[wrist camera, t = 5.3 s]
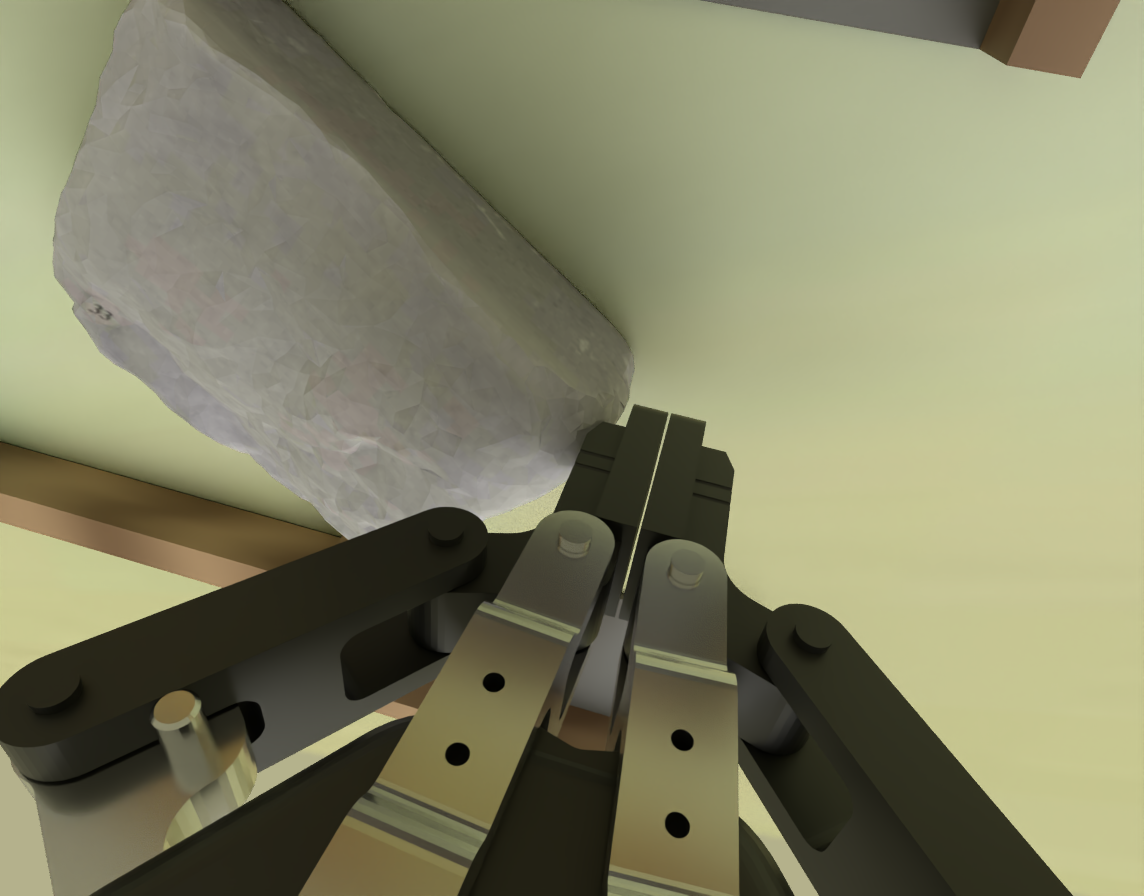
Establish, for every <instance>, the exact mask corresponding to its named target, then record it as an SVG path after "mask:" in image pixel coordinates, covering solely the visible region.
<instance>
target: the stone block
mask: <svg viewBox="0 0 1144 896" xmlns="http://www.w3.org/2000/svg"><path fill="white" fill-rule="evenodd" d="M53 247H54V252H53V268H54V276H55V278H56V279H57V281H58V282H59V283H60V285H61V286H62V287H63V288H64V290H65V291H66V292H67V294H68V295H69V296H70V298H71V299H72V300H73V301H74V305H73V308H72V310H73V312H74V315H75V316H76V317H77V319H78V320H79V321H80V323H81V324H82V325H83V326H84V328H85V329H86V331H87V332H88V334H89V335H90V337H91V339H92V340H93V342H94V343H95V345H96V347H97V348H98V350H99V351H100V353H102V354H103V355H104V356H105V357H107V358H108V359H109V360H110V361H111V362H113V363H114V364H115V365H117V366H119V367H121V368H122V369H124V370H126V371H128V372H129V373H131V374H133V375H135V376H136V377H138V378H139V379H140V380H141V381H142V382H143V383H145V384H146V385H147V386H148V387H149V388H150V389H152V390H153V391H154V392H155V393H156V394H157V395H158V397H159V398H160V399H161V400H162V402H163V403H164V404H165V405H166V406H167V407H168V408H169V409H171V410H172V411H173V412H175V413H176V414H177V415H179V416H180V417H181V418H183V419H184V420H185V421H186V422H188V423H189V424H190V425H191V426H193V427H194V428H195V429H196V430H198V431H200V432H201V433H203V434H205V435H206V436H208V437H210V438H211V439H213V440H214V441H216V442H218V443H220V444H222V445H225V446H227V447H229V448H231V449H234V450H236V451H239V452H242V453H247V454H250V456H251V457H252V458H253V459H254V460H255V461H256V462H257V463H258V464H259V465H260V466H262V467H263V468H264V469H265V470H266V471H267V472H268V473H269V474H270V475H271V476H272V477H273V478H274V479H275V480H277V481H278V482H279V483H281V484H282V485H284V486H285V487H286V488H288V489H289V490H290V491H292V492H293V493H295V494H296V495H297V496H299V497H300V498H302V499H304V500H306V501H309V502H310V503H311V504H312V505H313V506H314V507H315V508H316V509H317V511H318V512H319V513H320V514H321V516H322V517H323V518H324V520H325V521H326V522H328V523H329V524H330V525H331V526H332V527H333V528H335V529H336V530H337V531H338V532H339V533H341V534H342V535H343V536H344V537H345V538H347V539H348V540H350V539H352V538H355V537H357V536H360V535H363V534H365V533H368V532H371V531H373V530H376V529H378V528H381V527H384V526H386V525H389V524H391V523H394V522H397V521H399V520H402V519H405V518H407V517H410V516H412V515H415V514H418V513H420V512H423V511H426V510H429V509H432V508H437V507H456V508H461V509H464V510H467V511H469V512H471V513H473V514H475V515H476V516H478V517H479V518H480V519H481V520H482V521H484V520H485V519H487V518H490V517H494V516H497V515H500V514H503V513H506V512H508V511H511V510H513V509H515V508H517V507H519V506H521V505H524V504H526V503H528V502H531V501H533V500H536V499H538V498H539V497H541V496H543V495H545V494H547V493H548V492H550V491H551V490H553V489H554V488H556V487H557V486H559V485H561V484H562V483H564V482H565V481H566V480H567V479H568V477H569V475H570V473H571V470H572V468H573V466H574V464H575V461H576V458H577V456H578V454H579V452H580V449H581V447H582V444H583V442H584V440H585V437H586V435H587V433H588V432H589V431H591V430H592V429H593V428H595V427H596V426H598V425H599V424H600V423H602V422H607V423H611V424H616V422H617V421H618V420H619V418H620V417H621V415H622V413H623V411H624V409H625V407H626V404H627V402H628V400H629V393H630V385H631V381H632V377H633V373H634V358H633V353H632V352H631V350H630V348H629V346H628V344H627V343H626V341H625V339H624V338H623V337H622V336H621V334H620V333H619V332H618V331H617V330H616V328H615V327H614V326H613V325H612V324H611V323H610V322H609V321H608V320H607V319H606V318H605V317H604V316H603V315H602V314H601V313H600V312H599V311H598V310H597V309H596V308H595V307H594V306H593V305H592V304H591V303H590V302H589V301H588V300H587V299H586V298H585V297H584V296H583V295H582V294H580V292H579V291H578V290H577V289H576V288H575V287H574V286H573V285H572V284H571V283H570V282H569V281H568V280H567V279H566V278H565V277H564V276H563V275H562V274H561V273H560V272H558V271H557V270H556V269H555V268H554V267H553V266H552V265H551V264H550V263H549V262H548V261H547V260H546V259H545V258H544V257H543V256H542V255H541V254H540V253H539V252H538V251H536V250H535V249H534V248H533V247H532V246H531V245H530V244H529V243H528V242H527V241H526V240H525V239H524V238H523V237H522V236H521V234H520V233H519V232H518V231H517V230H516V229H515V228H514V227H513V226H512V225H511V224H510V223H509V222H507V221H506V220H505V219H504V218H503V217H502V216H501V215H500V214H499V213H498V212H497V211H495V210H494V209H493V208H492V207H491V206H490V205H489V204H488V203H487V202H486V201H485V199H484V198H483V197H482V196H481V195H480V194H479V193H478V192H477V191H476V190H475V189H474V188H473V187H472V186H470V185H469V184H468V183H467V182H466V181H465V180H464V179H463V178H462V177H461V176H460V175H459V174H458V173H457V172H456V171H455V170H454V169H453V168H452V167H451V166H450V165H449V164H448V163H447V162H446V161H445V160H444V159H443V158H442V156H441V155H440V154H439V153H438V152H437V151H436V150H435V149H434V148H432V147H431V146H430V145H429V144H428V143H427V142H426V141H425V140H424V139H423V138H422V137H421V136H420V135H418V134H417V133H416V132H415V131H414V130H413V129H412V128H411V127H410V126H409V125H408V124H407V123H405V122H404V121H403V120H402V119H401V118H400V117H399V116H398V115H396V114H395V113H394V112H392V111H391V110H390V108H389V107H388V106H387V105H386V103H385V102H384V101H383V100H382V98H381V97H380V96H379V95H378V93H377V92H376V91H375V90H374V89H373V88H372V87H371V86H370V85H369V84H368V83H366V82H365V81H364V80H363V79H362V78H361V77H360V76H359V75H358V74H357V73H356V72H355V71H354V70H353V69H352V68H351V67H350V66H349V65H348V64H347V63H346V62H345V61H344V60H343V59H342V58H341V57H340V56H339V55H338V54H337V53H336V52H335V51H334V50H333V49H332V48H331V47H330V46H329V45H328V44H327V43H326V42H325V40H324V39H323V38H322V37H321V36H320V35H319V34H317V33H316V32H315V31H313V30H312V29H311V28H310V27H308V26H307V24H306V23H305V22H304V21H303V20H302V19H301V18H300V17H299V16H298V15H297V14H296V13H295V12H294V11H293V10H292V9H291V8H290V7H289V6H288V5H287V4H285V3H284V2H283V1H281V0H131V1H130V3H129V5H128V6H127V8H126V9H125V11H124V12H123V14H122V15H121V18H120V20H119V22H118V24H117V26H116V29H115V31H114V39H113V51H112V53H111V55H110V58H109V60H108V62H107V64H106V66H105V68H104V70H103V72H102V74H101V76H100V81H99V88H98V95H97V101H96V106H95V108H94V110H93V113H92V115H91V118H90V120H89V122H88V125H87V129H86V132H85V135H84V138H83V140H82V143H81V145H80V147H79V150H78V152H77V155H76V158H75V162H74V166H73V169H72V171H71V174H70V176H69V178H68V181H67V183H66V185H65V188H64V189H63V191H62V192H61V196H60V200H59V204H58V208H57V212H56V216H55V233H54V237H53Z"/></svg>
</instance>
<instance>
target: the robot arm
mask: <svg viewBox="0 0 1144 896" xmlns="http://www.w3.org/2000/svg"><path fill="white" fill-rule="evenodd" d="M667 416H668V412H664V411H660V410H656V409H652V408H648V407H644V406H640V405H636V404H634V406H633V408H632V411H631V414H630V417H629V420H628V422H627V425H626V427H623V426H619V425H615V424H611V423H607V422H602V423H600V424H599V425H598V426H596V427H595V428H593V429H592V430H591V431H589V432H588V433H587V435H586V437H585V440H584V442H583V444H582V447H581V449H580V452H579V454H578V456H577V458H576V461H575V464H574V466H573V468H572V470H571V473H570V475H569V477H568V480H567V482H566V484H565V487H564V489H563V492H562V494H561V496H560V499H559V501H558V503H557V506H556V508H555V510H554V513H553V514H550V515H548V516H547V517H545V518H544V519H543V520H541V521H540V523H539V524H538V525H537V527H536V528H535V529H533V530H530V531H526V532H521V533H487V529H486V526H485V524H484V523H483V522H482V520H481V519H480V518H479V517H478V516H476V515H475V514H473V513H471V512H469V511H467V510H464V509H461V508H456V507H437V508H432V509H429V510H426V511H423V512H420V513H418V514H415V515H412V516H410V517H407V518H405V519H402V520H399V521H397V522H394V523H391V524H389V525H386V526H384V527H381V528H378V529H376V530H373V531H371V532H368V533H365V534H363V535H360V536H357V537H355V538H352V539H350V540H347V541H344V542H342V543H339V544H336V545H334V546H331V547H329V548H326V549H323V550H321V551H318V552H316V553H313V554H310V555H308V556H305V557H302V558H300V559H297V560H295V561H292V562H289V563H287V564H284V565H281V566H279V567H276V568H274V569H271V570H268V571H266V572H263V573H261V574H258V575H255V576H253V577H250V578H247V579H245V580H242V581H240V582H237V583H234V584H232V585H229V586H226V587H224V588H221V589H219V590H216V591H213V592H211V593H208V594H206V595H203V596H200V597H198V598H195V599H192V600H190V601H187V602H185V603H182V604H179V605H177V606H174V607H171V608H169V609H166V610H164V611H161V612H158V613H156V614H153V615H151V616H148V617H145V618H143V619H140V620H137V621H135V622H132V623H130V624H127V625H124V626H122V627H119V628H116V629H114V630H111V631H109V632H106V633H103V634H101V635H98V636H96V637H93V638H90V639H88V640H85V641H82V642H80V643H77V644H75V645H72V646H69V647H67V648H64V649H61V650H59V651H56V652H54V653H51V654H48V655H46V656H44V657H41V658H39V659H37V660H35V661H33V662H31V663H30V664H28V665H26V666H25V667H23V668H22V669H20V670H19V671H17V672H16V673H15V674H14V675H13V676H12V677H10V678H9V679H8V680H7V681H6V682H5V683H4V684H3V685H2V687H1V688H0V745H1V746H2V748H3V749H4V751H5V752H6V753H7V755H8V756H9V757H10V760H11V765H12V767H13V770H14V772H15V773H16V774H17V776H18V777H19V778H20V780H21V781H22V783H23V784H24V785H25V787H26V788H27V789H28V791H29V792H30V794H31V795H32V797H33V798H34V800H35V801H36V804H37V809H38V815H39V820H40V825H41V830H42V836H43V841H44V846H45V851H46V857H47V862H48V867H49V873H50V878H51V883H52V888H53V894H54V896H794V894H793V892H792V890H791V889H790V887H789V885H788V883H787V881H786V879H785V878H784V876H783V874H782V872H781V871H780V869H779V867H778V865H777V864H776V862H775V860H774V858H773V857H772V855H771V854H770V852H769V851H768V850H767V848H766V847H765V845H764V844H763V842H762V841H761V840H760V838H759V837H758V836H757V835H756V834H755V833H754V832H753V830H752V829H751V828H750V827H749V826H748V825H747V824H746V823H745V822H744V821H743V820H742V819H741V818H740V817H739V811H738V764H739V765H740V767H741V769H742V770H743V772H744V774H745V775H746V777H747V779H748V780H749V782H750V783H751V785H752V787H753V788H754V790H755V792H756V793H757V795H758V796H759V798H760V800H761V801H762V803H763V805H764V806H765V808H766V810H767V811H768V813H769V814H770V816H771V818H772V819H773V821H774V823H775V824H776V826H777V828H778V829H779V831H780V832H781V834H782V836H783V837H784V839H785V841H786V842H787V844H788V846H789V847H790V849H791V850H792V852H793V854H794V855H795V857H796V858H797V860H798V862H799V863H800V865H801V867H802V868H803V870H804V872H805V873H806V875H807V877H808V878H809V880H810V881H811V883H812V885H813V886H814V888H815V890H816V891H817V893H818V895H819V896H1073V895H1072V894H1071V893H1070V892H1069V891H1068V889H1067V888H1066V887H1065V886H1064V885H1063V883H1062V882H1061V881H1060V880H1059V879H1058V878H1057V876H1056V875H1055V874H1054V873H1053V872H1052V871H1051V869H1050V868H1049V867H1048V866H1047V865H1046V863H1045V862H1044V861H1043V860H1042V859H1041V858H1040V856H1039V855H1038V854H1037V853H1036V852H1035V851H1034V849H1033V848H1032V847H1031V846H1030V845H1029V844H1028V842H1027V841H1026V840H1025V839H1024V838H1023V836H1022V835H1021V834H1020V833H1019V832H1018V831H1017V829H1016V828H1015V827H1014V826H1013V825H1012V824H1011V822H1010V821H1009V820H1008V819H1007V818H1006V817H1005V815H1004V814H1003V813H1002V812H1001V811H1000V809H999V808H998V807H997V806H996V805H995V804H994V802H993V801H992V800H991V799H990V798H989V797H988V795H987V794H986V793H985V792H984V791H983V789H982V788H981V787H980V786H979V785H978V784H977V782H976V781H975V780H974V779H973V778H972V777H971V775H970V774H969V773H968V772H967V771H966V770H965V768H964V767H963V766H962V765H961V764H960V762H959V761H958V760H957V759H956V758H955V757H954V755H953V754H952V753H951V752H950V751H949V750H948V748H947V747H946V746H945V745H944V744H943V743H942V741H941V740H940V739H939V738H938V737H937V735H936V734H935V733H934V732H933V731H932V730H931V728H930V727H929V726H928V725H927V724H926V723H925V721H924V720H923V719H922V718H921V717H920V716H919V714H918V713H917V712H916V711H915V710H914V708H913V707H912V706H911V705H910V704H909V703H908V701H907V700H906V699H905V698H904V697H903V696H902V694H901V693H900V692H899V691H898V690H897V688H896V687H895V686H894V685H893V684H892V683H891V681H890V680H889V679H888V678H887V677H886V676H885V674H884V673H883V672H882V671H881V670H880V669H879V667H878V666H877V665H876V664H875V663H874V661H873V660H872V659H871V658H870V657H869V656H868V654H867V653H866V652H865V651H864V650H863V649H862V647H861V646H860V645H859V644H858V643H857V642H856V640H855V639H854V638H853V637H852V636H851V634H850V633H849V632H848V631H847V630H846V629H845V627H844V626H843V625H842V624H841V623H840V622H839V621H837V620H836V619H835V618H834V617H832V616H831V615H829V614H828V613H826V612H824V611H822V610H820V609H818V608H815V607H812V606H808V605H804V604H788V605H784V606H781V607H779V608H777V609H776V610H774V611H771V610H769V609H767V608H766V607H764V606H762V605H760V604H759V603H757V602H755V601H753V600H752V599H750V598H749V597H747V596H746V595H745V594H743V593H742V592H741V591H740V590H739V589H738V588H737V587H736V586H735V585H734V584H733V582H732V581H731V580H730V578H729V576H728V575H727V572H726V569H725V566H724V553H725V544H726V536H727V527H728V519H729V511H730V502H731V494H732V485H733V477H734V469H733V466H732V464H731V462H730V460H729V458H728V456H727V454H726V452H723V451H719V450H715V449H711V448H707V447H703V446H702V442H703V436H704V431H705V426H706V422H705V421H701V420H697V419H693V418H689V417H685V416H681V415H677V414H673V413H671V417H670V420H669V424H668V428H667V432H666V436H665V439H664V443H663V447H662V451H661V454H660V458H659V462H658V466H657V470H656V473H655V477H654V481H653V485H652V488H651V492H650V496H649V500H648V504H647V507H646V511H645V515H644V519H643V522H642V526H641V530H640V534H639V538H638V542H637V546H636V550H635V554H634V558H633V562H632V566H631V570H630V574H629V578H628V581H627V585H626V589H625V593H624V597H623V601H622V605H621V609H620V613H619V617H618V618H619V619H622V620H626V621H628V625H627V629H626V633H625V638H624V642H623V646H622V649H621V653H620V657H619V662H618V668H617V675H616V681H615V688H614V694H613V701H612V707H611V714H610V721H609V727H608V734H607V740H606V746H605V751H598V750H583V749H578V748H575V747H573V746H571V745H569V744H568V743H566V742H564V741H563V740H561V739H559V738H558V734H559V731H560V728H561V726H562V723H563V721H564V718H565V716H566V713H567V710H568V708H569V705H570V703H571V700H572V698H573V695H574V693H575V690H576V687H577V685H578V682H579V680H580V677H581V675H582V672H583V670H584V667H585V664H586V662H587V659H588V657H589V654H590V652H591V648H592V644H593V641H594V640H595V639H596V637H597V636H598V633H599V630H600V627H601V623H602V620H603V616H604V615H607V616H611V617H614V618H615V615H616V611H617V607H618V604H619V600H620V596H621V592H622V589H623V585H624V581H625V577H626V574H627V570H628V566H629V563H630V559H631V555H632V551H633V548H634V544H635V540H636V537H637V533H638V529H639V525H640V522H641V518H642V514H643V511H644V507H645V503H646V499H647V496H648V492H649V488H650V484H651V480H652V476H653V472H654V468H655V464H656V460H657V456H658V452H659V448H660V444H661V440H662V436H663V433H664V429H665V425H666V421H667ZM435 679H436V680H435ZM433 680H435V681H434V683H433V685H432V686H431V688H430V690H429V691H428V693H427V695H426V697H425V698H424V700H423V702H422V703H421V705H420V707H419V708H418V710H417V712H416V714H415V715H412V716H407V717H404V718H400V719H397V720H394V721H391V722H389V723H386V724H384V725H382V726H379V727H377V728H375V729H373V730H371V731H369V732H367V733H366V734H364V735H362V736H361V737H359V738H357V739H355V740H354V741H352V742H350V743H349V744H347V745H345V746H343V747H342V748H340V749H338V750H337V751H335V752H333V753H332V754H330V755H328V756H326V757H325V758H323V759H321V760H319V761H318V762H316V763H314V764H313V765H311V766H309V767H308V768H306V769H304V770H302V771H301V772H299V773H297V774H295V775H294V776H292V777H290V778H289V779H287V780H285V781H284V782H282V783H280V784H278V785H277V786H275V787H273V788H271V789H270V790H268V791H266V792H265V793H263V794H261V795H259V796H258V797H256V798H254V799H253V800H251V801H249V802H247V803H246V804H244V802H245V801H246V800H247V798H248V797H249V795H250V794H251V791H252V789H253V787H254V784H255V781H256V777H257V773H259V772H260V771H262V770H264V769H266V768H268V767H270V766H272V765H274V764H275V763H278V762H279V761H281V760H283V759H285V758H287V757H289V756H291V755H293V754H295V753H296V752H298V751H300V750H302V749H304V748H306V747H308V746H310V745H312V744H314V743H315V742H317V741H319V740H321V739H323V738H325V737H327V736H329V735H331V734H332V733H334V732H336V731H338V730H340V729H342V728H344V727H346V726H348V725H349V724H351V723H353V722H355V721H357V720H359V719H361V718H363V717H365V716H366V715H368V714H370V713H372V712H374V711H376V710H378V709H380V708H382V707H383V706H385V705H387V704H389V703H391V702H393V701H395V700H397V699H399V698H401V697H402V696H404V695H406V694H408V693H410V692H412V691H414V690H416V689H418V688H419V687H421V686H423V685H425V684H427V683H429V682H431V681H433ZM243 804H244V805H243Z"/></svg>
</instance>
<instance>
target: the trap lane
mask: <svg viewBox="0 0 1144 896" xmlns="http://www.w3.org/2000/svg"><path fill="white" fill-rule="evenodd" d="M702 1H708V2H713V3H719V4H725V5H730V6H736V7H742V8H748V9H753V10H759V11H765V12H770V13H776V14H782V15H787V16H793V17H799V18H805V19H810V20H816V21H822V22H827V23H833V24H839V25H845V26H850V27H856V28H862V29H867V30H873V31H879V32H884V33H890V34H896V35H902V36H907V37H913V38H919V39H924V40H930V41H936V42H942V43H947V44H953V45H959V46H964V47H970V48H976V49H980V50H982V51H983V52H985V53H987V54H989V55H990V56H992V57H994V58H995V59H997V60H999V61H1000V62H1002V63H1004V64H1006V65H1009V66H1014V67H1020V68H1026V69H1031V70H1037V71H1043V72H1048V73H1054V74H1059V75H1065V76H1071V77H1076V78H1081V76H1082V74H1083V72H1084V70H1085V68H1086V66H1087V64H1088V62H1089V60H1090V58H1091V56H1092V55H1093V53H1094V51H1095V49H1096V47H1097V45H1098V43H1099V41H1100V39H1101V37H1102V35H1103V33H1104V31H1105V29H1106V27H1107V25H1108V23H1109V21H1110V19H1111V17H1112V16H1113V14H1114V12H1115V10H1116V8H1117V6H1118V4H1119V2H1120V0H702ZM0 522H2V523H6V524H9V525H13V526H16V527H19V528H23V529H26V530H29V531H33V532H36V533H40V534H43V535H46V536H50V537H53V538H56V539H60V540H63V541H67V542H70V543H73V544H77V545H80V546H83V547H87V548H90V549H94V550H97V551H100V552H104V553H107V554H110V555H114V556H117V557H121V558H124V559H127V560H131V561H134V562H137V563H141V564H144V565H148V566H151V567H154V568H158V569H161V570H164V571H168V572H171V573H175V574H178V575H181V576H185V577H188V578H191V579H195V580H198V581H202V582H205V583H208V584H212V585H215V586H218V587H222V588H224V587H226V586H229V585H232V584H234V583H237V582H240V581H242V580H245V579H247V578H250V577H253V576H255V575H258V574H261V573H263V572H266V571H268V570H271V569H274V568H276V567H279V566H281V565H284V564H287V563H289V562H292V561H295V560H297V559H300V558H302V557H305V556H308V555H310V554H313V553H316V552H318V551H321V550H323V549H326V548H329V547H331V546H334V545H336V544H339V543H342V542H344V541H347V540H348V539H347V538H345V537H344V536H343V535H342V537H341V538H340V537H336V536H333V535H329V534H326V533H322V532H319V531H315V530H312V529H308V528H304V527H301V526H297V525H294V524H290V523H287V522H283V521H280V520H276V519H272V518H269V517H265V516H262V515H258V514H255V513H251V512H248V511H244V510H240V509H237V508H233V507H230V506H226V505H223V504H219V503H216V502H212V501H208V500H205V499H201V498H198V497H194V496H191V495H187V494H184V493H180V492H176V491H173V490H169V489H166V488H162V487H159V486H155V485H152V484H148V483H145V482H141V481H137V480H134V479H130V478H127V477H123V476H120V475H116V474H113V473H109V472H105V471H102V470H98V469H95V468H91V467H88V466H84V465H81V464H77V463H73V462H70V461H66V460H63V459H59V458H56V457H52V456H49V455H45V454H41V453H38V452H34V451H31V450H27V449H24V448H20V447H17V446H13V445H9V444H6V443H2V442H0ZM623 597H624V594H621V596H620V600H619V604H618V607H617V611H616V615H615V618H614V617H611V616H607V615H604V616H603V620H602V623H601V627H600V630H599V633H598V636H597V637H596V639H595V640H594V641H593V644H592V648H591V652H590V654H589V657H588V659H587V662H586V664H585V667H584V670H583V672H582V675H581V677H580V680H579V682H578V685H577V687H576V690H575V693H574V695H573V698H572V700H571V703H570V705H569V708H568V710H567V713H566V716H565V718H564V721H563V723H562V726H561V728H560V731H559V734H558V738H559V739H561V740H563V741H564V742H566V743H568V744H569V745H571V746H573V747H575V748H578V749H583V750H598V751H605V746H606V740H607V734H608V727H609V721H610V714H611V707H612V701H613V694H614V688H615V681H616V675H617V668H618V662H619V657H620V653H621V649H622V646H623V642H624V638H625V633H626V629H627V625H628V621H626V620H622V619H619V618H618V617H619V613H620V609H621V605H622V601H623ZM435 680H436V679H435ZM435 680H433V681H431V682H429V683H427V684H425V685H423V686H421V687H419V688H418V689H416V690H414V691H412V692H410V693H408V694H406V695H404V696H402V697H401V698H399V699H397V700H395V701H393V702H391V703H389V704H387V705H385V706H383V707H382V708H380V709H378V710H376V711H374V712H377V713H380V714H384V715H387V716H390V717H393V718H396V719H400V718H404V717H407V716H412V715H415V714H416V712H417V710H418V708H419V707H420V705H421V703H422V702H423V700H424V698H425V697H426V695H427V693H428V691H429V690H430V688H431V686H432V685H433V683H434V681H435Z"/></svg>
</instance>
